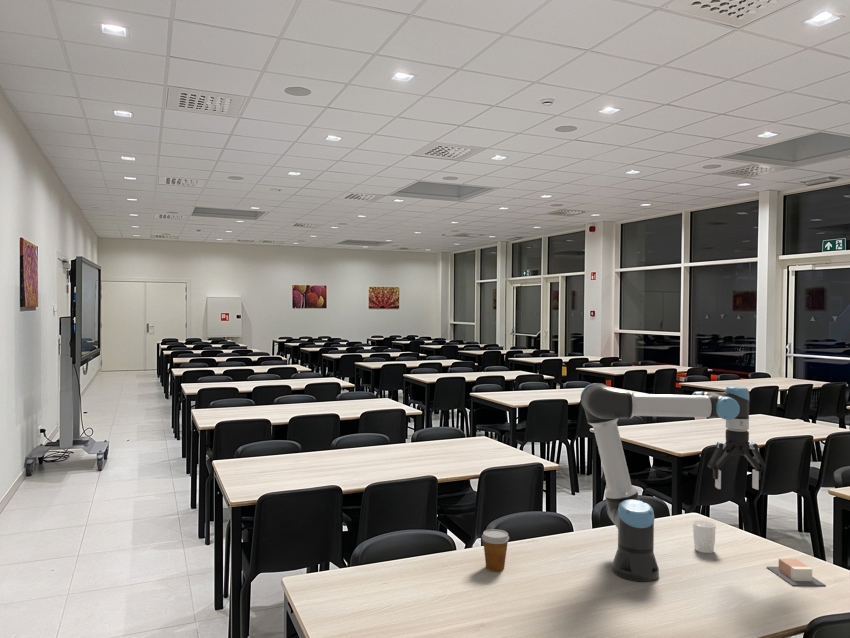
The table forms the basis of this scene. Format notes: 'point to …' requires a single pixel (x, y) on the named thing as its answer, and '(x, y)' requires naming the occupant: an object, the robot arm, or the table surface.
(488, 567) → the disposable coffee cup
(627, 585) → the table surface
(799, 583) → the mat
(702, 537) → the white cup
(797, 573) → the flat block
